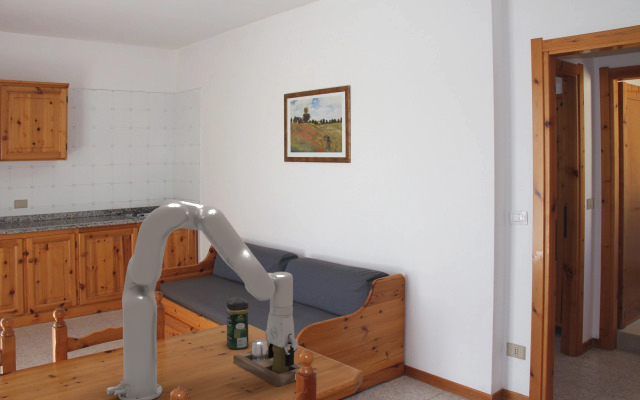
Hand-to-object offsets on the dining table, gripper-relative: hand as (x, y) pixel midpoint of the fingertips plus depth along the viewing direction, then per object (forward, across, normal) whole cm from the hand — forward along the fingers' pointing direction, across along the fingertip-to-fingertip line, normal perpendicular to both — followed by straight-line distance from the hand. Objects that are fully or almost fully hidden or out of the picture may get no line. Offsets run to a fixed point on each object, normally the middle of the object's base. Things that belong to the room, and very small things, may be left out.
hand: (280, 361), depth 180 cm
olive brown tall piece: (+5, 0, 0) cm, 5 cm away
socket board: (+5, -6, 0) cm, 8 cm away
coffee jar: (+5, -34, +4) cm, 35 cm away
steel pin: (+5, -13, 0) cm, 14 cm away
